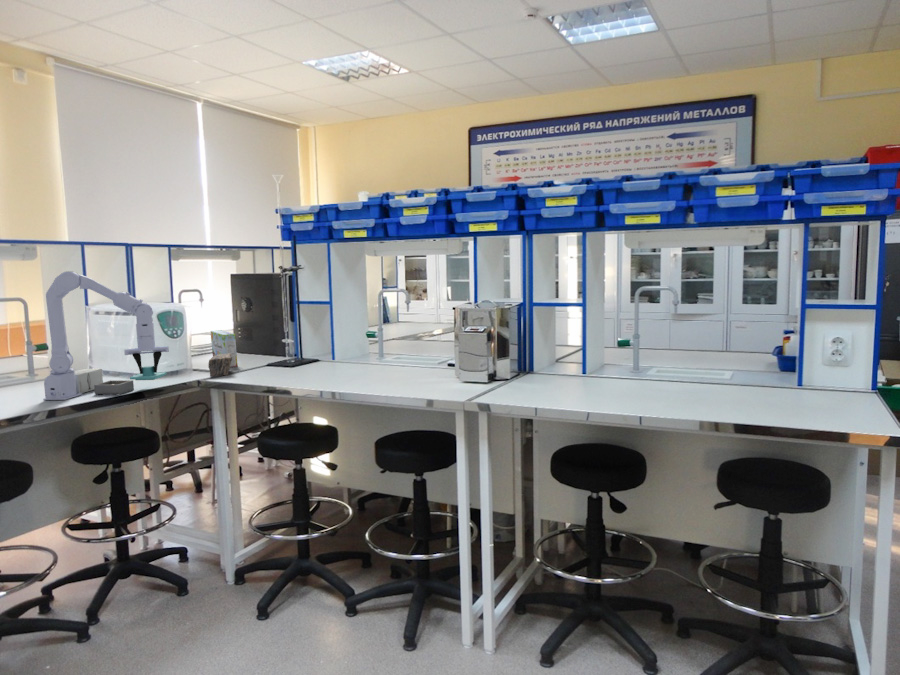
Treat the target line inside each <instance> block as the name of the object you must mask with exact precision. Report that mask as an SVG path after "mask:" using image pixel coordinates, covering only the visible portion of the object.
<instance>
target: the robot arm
mask: <svg viewBox="0 0 900 675" xmlns="http://www.w3.org/2000/svg"><path fill="white" fill-rule="evenodd" d="M78 288H79V289H80V290H91V291H93V292H95V293H96V294H98V295H101V296H102V297H105V298H107V299H109V300H111V301H112V304H113V306H114V307H117V308H119V309H121V310H122V311H124V312H127V313H129V314H131V315H132V314H134V315H135V318H136V324H135V327H136V341H137V347H136V348H127V349H126V348H125V349H124V350H123V352H124V355H125V356H129V355H130V356H132V357H133V359H134V361H135V362H136V364H137V367H138V370H139V374H143V372H142V367H143V366H142V356H141V354H142V355H143V354H152V355H153V363H154V364H153V366H154V372H155V373H158V367H159V366H158V365H159V362H160V359H161V357H162V353H168V352H169V351H170V350H169V346H156V343H155V342H156V341H155V340H156V339H155V329H154V326H155V325H154V322H153V321H154V320H153V319H154V318H153V314H154V311H153V308H152V306H151V305H150V304H148V303H147V302H143V299H138V298H137V297H135V296H132V295H131V292H129V291H126V292H124V291H119V292H117V291H115V290H113V289H111V288H109V287H107V286H106V285H104V284H102V283H101V282H98V281H96V280H95V279H94V278H91V277H89V276H86V275H83V274H79V273H78V272H75V271H73V270H72V271H71V270H70V271H68V270H67V271H64V272H61V273H60V274H59V275H57V276H56V277H55V278H54V280H53V281H52V282H51V285H50V287H49V288H48V290H46V293H45V302H46V308H47V309H46V310H47V317H48V326H49V333H50V341H51V342H50V343H51V358H50V360H49V362H48V363H49V368H50V369H51V370H50V371H49V375H47V376H46V377H45V379H44V381H43V386H44V395H45V397H44V398H43V399H42V400H43V401H65V400H70V399H72V398H74V397H79V396H82V395H83V393H76V383H75V371H76V370H75V369H74V368H73V367H72V365H73V364H74V358H73V356H72V354H71V353H70V348H69V345H68V337H67V329H66V321H65V320H66V319H65V312H64V311H65V310H64V303H63V299H64V298H65V297H66V296H68V294H69V293H70V292H72V291H74V290H76V289H78Z"/></svg>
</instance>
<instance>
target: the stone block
mask: <svg viewBox="0 0 900 675" xmlns="http://www.w3.org/2000/svg"><path fill="white" fill-rule="evenodd" d="M231 361H232V356H231V353H229V354H219V355H216V356H214V357H213V356H212V357H211V358H210V359H209V360H208V365H207V366H208V369H209V377H223V375H225V376H229V372H230V369H231V367H230V365H231Z"/></svg>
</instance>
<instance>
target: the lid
mask: <svg viewBox="0 0 900 675" xmlns="http://www.w3.org/2000/svg"><path fill="white" fill-rule="evenodd" d="M142 372H143V374H140V373H138V374H135V375H133V376H130V377H129V378H130V379H129V380H135V381H154V380H158V379H160V378H162V377H164V376H166V375H167V372H157V373H155V372H154V365H146V366H142Z"/></svg>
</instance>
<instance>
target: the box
mask: <svg viewBox="0 0 900 675" xmlns="http://www.w3.org/2000/svg"><path fill="white" fill-rule="evenodd" d="M94 388H95V390H94V395H95V394H120V395H123V394H126V393H129V392H131V390H132V391H134V390H135V384H134V379H128V380H127V379H126V380H122V379H119V380H107V381H103V383H100V384H96V385H94ZM128 391H129V392H128Z"/></svg>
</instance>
